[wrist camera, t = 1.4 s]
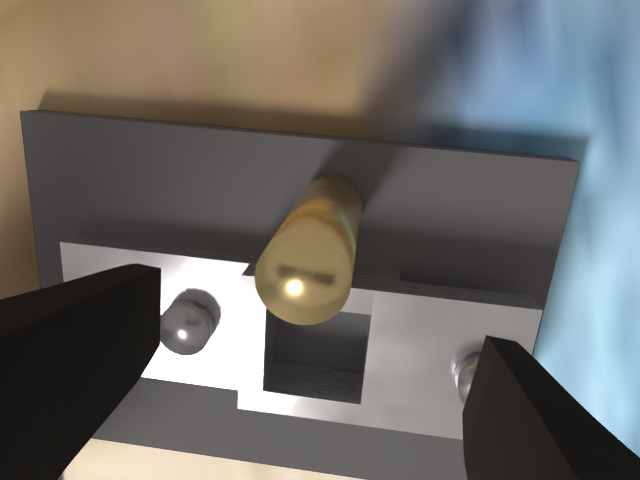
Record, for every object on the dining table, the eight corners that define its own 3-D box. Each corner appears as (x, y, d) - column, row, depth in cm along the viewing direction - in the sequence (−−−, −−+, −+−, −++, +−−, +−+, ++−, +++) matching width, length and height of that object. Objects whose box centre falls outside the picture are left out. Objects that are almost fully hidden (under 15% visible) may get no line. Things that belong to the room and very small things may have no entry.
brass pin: (300, 228, 20) (253, 318, 13) (304, 170, 19) (256, 230, 12) (358, 235, 20) (346, 330, 12) (365, 176, 19) (355, 240, 12)
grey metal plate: (87, 353, 23) (43, 394, 20) (76, 233, 21) (26, 258, 18) (495, 407, 22) (514, 461, 19) (524, 283, 20) (550, 320, 17)
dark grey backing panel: (69, 420, 26) (57, 433, 25) (36, 109, 21) (19, 111, 20) (492, 482, 24) (497, 498, 23) (570, 158, 19) (580, 162, 18)
